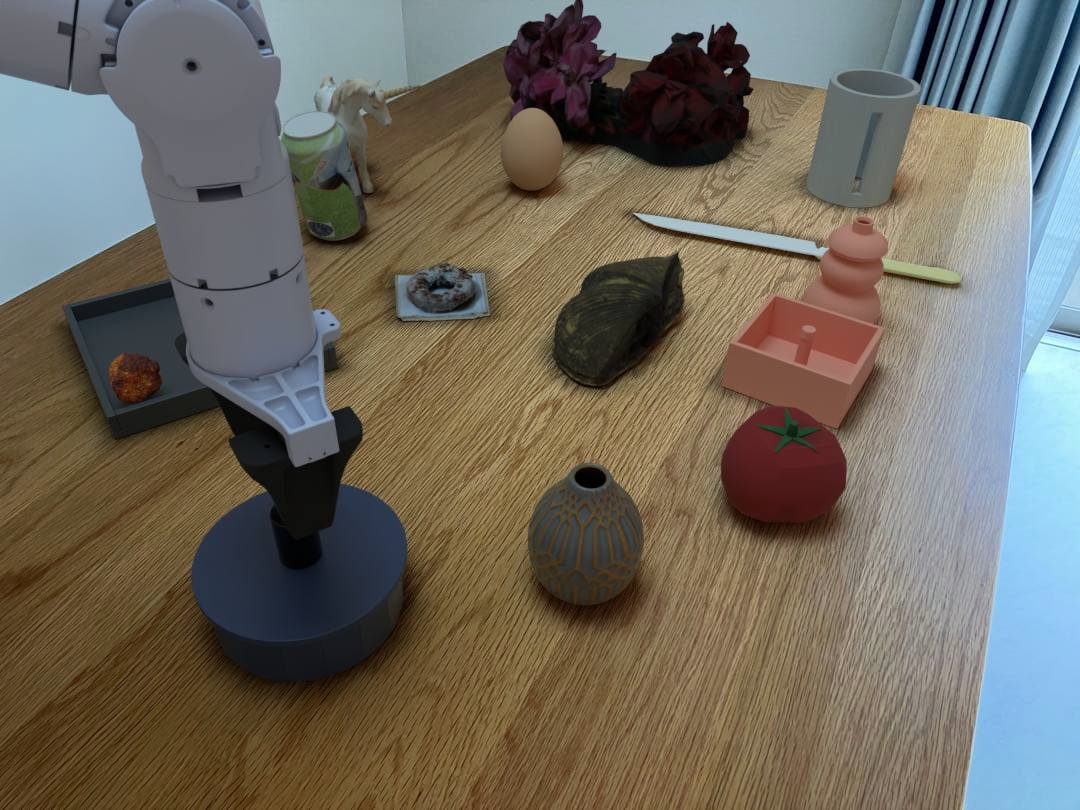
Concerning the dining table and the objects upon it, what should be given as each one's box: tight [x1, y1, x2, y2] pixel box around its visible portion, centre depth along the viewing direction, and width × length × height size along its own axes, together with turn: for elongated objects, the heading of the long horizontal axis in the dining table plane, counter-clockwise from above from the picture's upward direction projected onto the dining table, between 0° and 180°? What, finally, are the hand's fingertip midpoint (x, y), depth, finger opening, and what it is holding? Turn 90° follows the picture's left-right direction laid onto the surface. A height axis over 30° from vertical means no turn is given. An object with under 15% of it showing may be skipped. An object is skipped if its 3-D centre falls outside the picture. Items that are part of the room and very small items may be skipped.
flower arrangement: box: [502, 0, 755, 168], centre depth 107 cm, size 31×20×15 cm, turn 76°
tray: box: [61, 277, 338, 440], centre depth 73 cm, size 17×17×2 cm
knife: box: [632, 212, 963, 285], centre depth 89 cm, size 1×33×5 cm
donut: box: [394, 261, 491, 322], centre depth 80 cm, size 8×8×2 cm
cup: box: [805, 67, 922, 209], centre depth 97 cm, size 9×9×12 cm
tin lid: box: [190, 483, 408, 647], centre depth 50 cm, size 12×12×5 cm
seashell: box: [551, 251, 685, 387], centre depth 75 cm, size 16×9×7 cm, turn 149°
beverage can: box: [280, 110, 368, 242], centre depth 86 cm, size 6×7×12 cm
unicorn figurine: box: [313, 75, 423, 194], centre depth 94 cm, size 7×20×13 cm, turn 37°
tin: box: [211, 578, 405, 683], centre depth 52 cm, size 11×11×4 cm
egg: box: [500, 108, 564, 192], centre depth 96 cm, size 7×7×9 cm
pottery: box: [721, 215, 889, 430], centre depth 72 cm, size 18×10×10 cm, turn 147°
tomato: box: [720, 405, 848, 524], centre depth 59 cm, size 8×8×7 cm
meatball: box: [109, 353, 163, 404], centre depth 66 cm, size 4×4×4 cm
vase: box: [527, 462, 645, 606], centre depth 52 cm, size 7×7×9 cm
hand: (285, 483), depth 47 cm, fingers open, 7 cm apart
